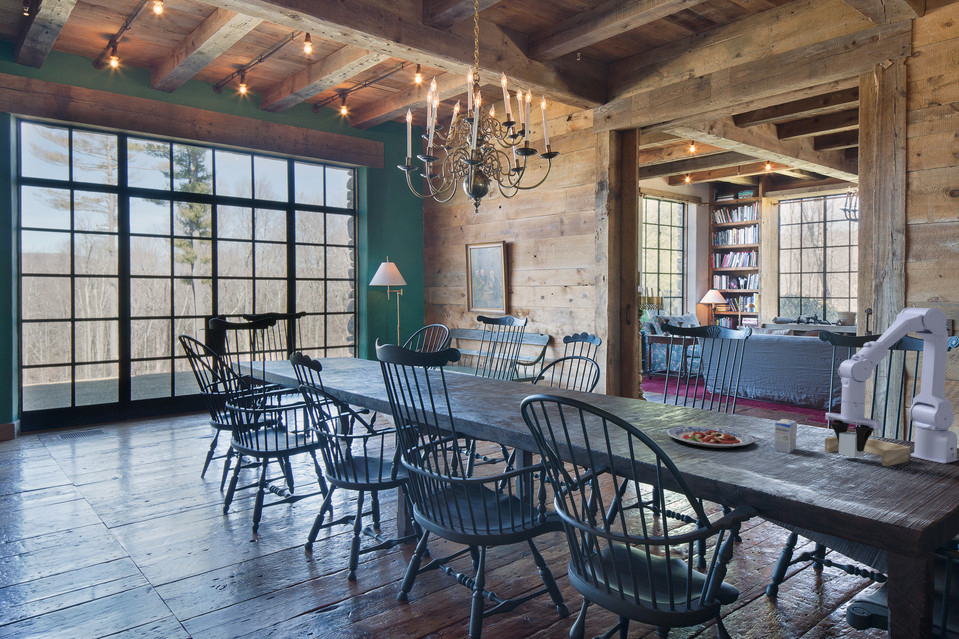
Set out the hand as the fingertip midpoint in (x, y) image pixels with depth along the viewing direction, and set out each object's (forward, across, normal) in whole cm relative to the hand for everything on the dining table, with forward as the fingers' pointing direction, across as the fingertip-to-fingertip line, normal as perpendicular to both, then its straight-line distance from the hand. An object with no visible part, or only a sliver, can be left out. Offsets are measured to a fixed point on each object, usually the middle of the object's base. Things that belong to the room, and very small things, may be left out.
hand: (851, 449), depth 174 cm
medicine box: (+3, -16, -7) cm, 17 cm away
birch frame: (+3, 0, +8) cm, 8 cm away
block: (+2, 0, 0) cm, 2 cm away
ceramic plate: (+3, -33, -19) cm, 39 cm away
